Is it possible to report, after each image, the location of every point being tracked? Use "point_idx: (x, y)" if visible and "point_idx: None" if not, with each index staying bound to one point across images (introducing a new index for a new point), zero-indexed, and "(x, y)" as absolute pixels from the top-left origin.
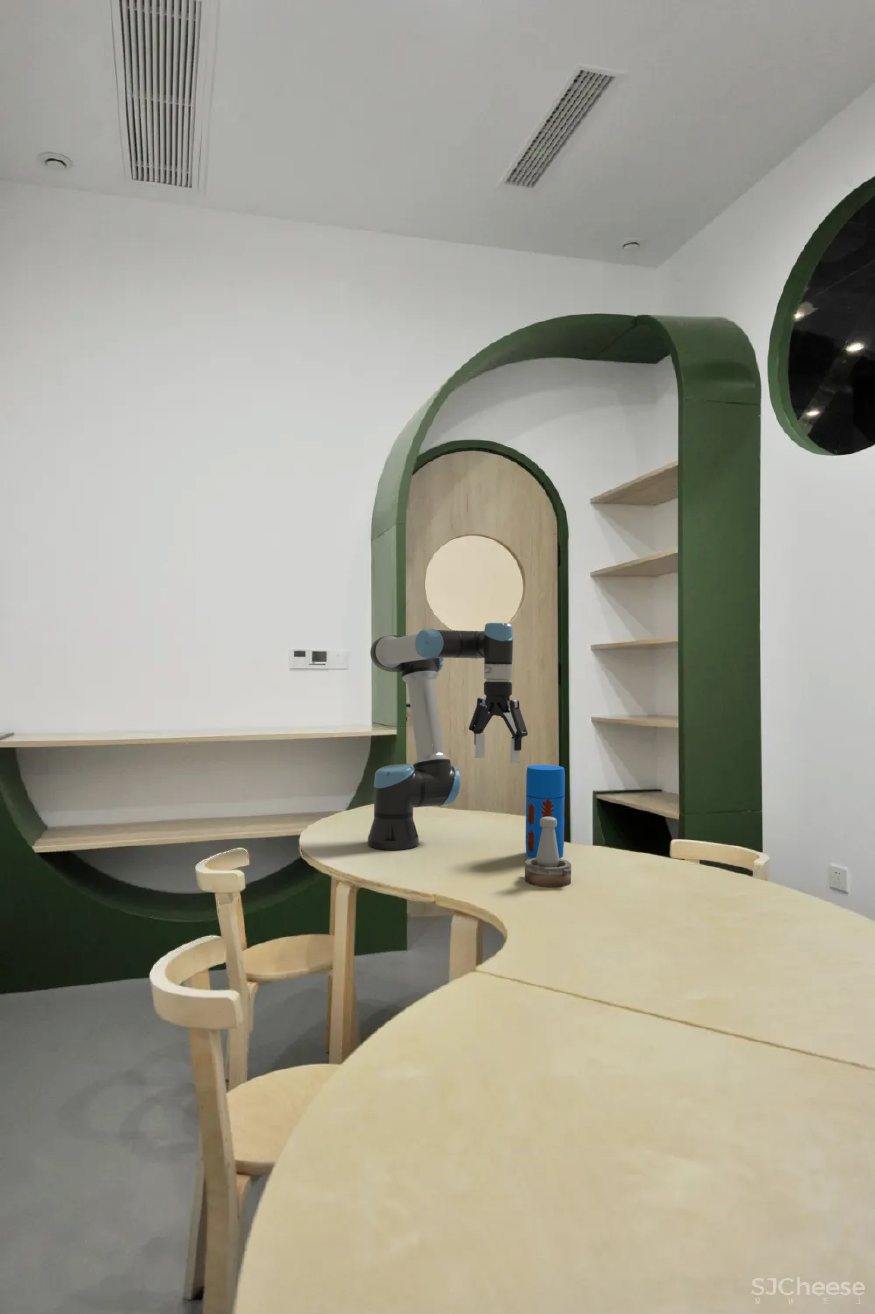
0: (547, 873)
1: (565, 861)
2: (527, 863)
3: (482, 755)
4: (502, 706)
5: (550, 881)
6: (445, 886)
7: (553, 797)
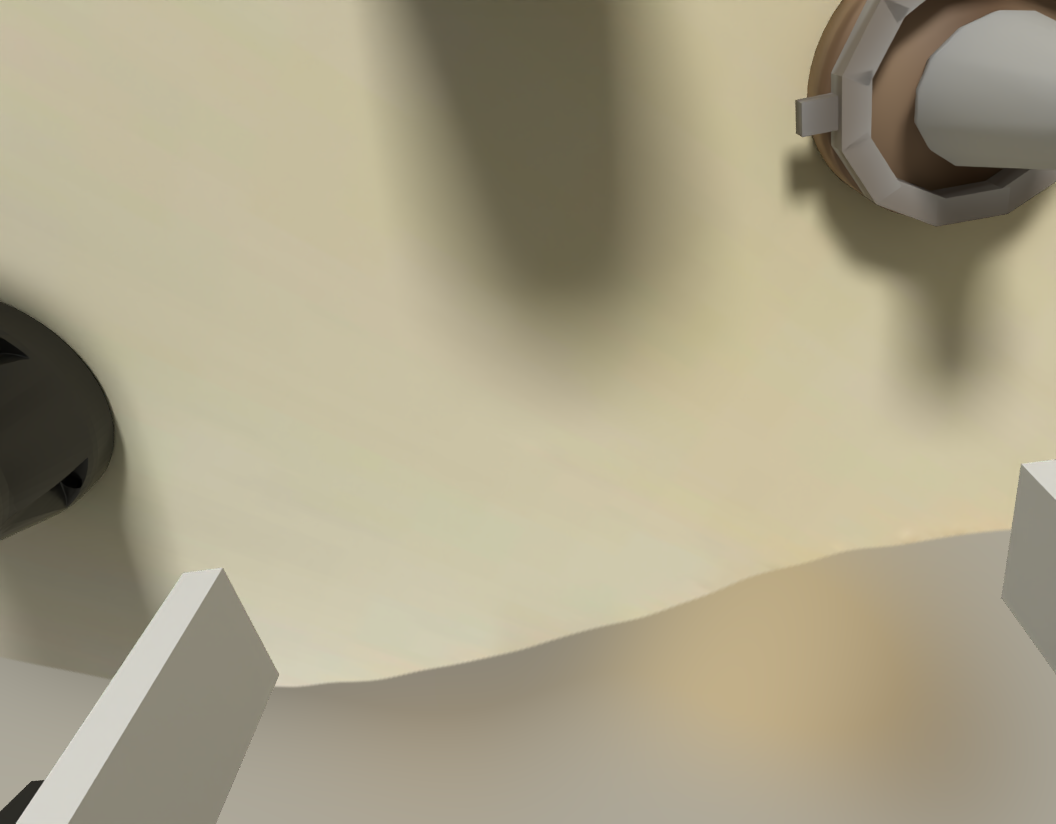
0: None
1: None
2: (909, 209)
3: (227, 623)
4: None
5: None
6: (719, 514)
7: None
